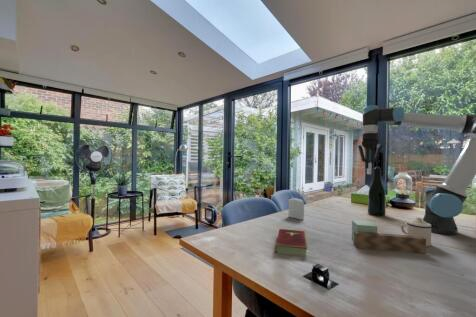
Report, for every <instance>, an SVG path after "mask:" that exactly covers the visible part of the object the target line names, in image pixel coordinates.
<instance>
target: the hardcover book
mask: <svg viewBox="0 0 476 317" xmlns="http://www.w3.org/2000/svg"><path fill="white" fill-rule="evenodd" d="M277 233H278V234H277V240H276V244H275V248H274V249H275V250H274V251H275V254H283V255H290V256H291V255H292V256H299V257H307V249H308V244H307V239H306V231H305V230H299V229H297V230H296V229H288V228H287V229H286V228H279V229H278V232H277Z"/></svg>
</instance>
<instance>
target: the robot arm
mask: <svg viewBox="0 0 476 317" xmlns="http://www.w3.org/2000/svg"><path fill="white" fill-rule="evenodd" d="M378 123H384V124H385V125H387V126H391V127H392V126H403V127H411V128H422V129H431V130H433V129H434V130H442V131H451V132H452V131H454V132H458V133H459V134H463V135H467V136H468V138H469V139H468V140H467V141H466V144H465V146H464V147H463V148H462V150H461V152H460V154H459V156H458V157H457V159H456V161H455V162H454V163H453V166H452V167H451V169H450V171H449V172H448V175H447V176H446V178H445V179H444V181H443V182H442V183H440V184H437V185H436V187H432V186H431V187H430V186H429V187H426V188H425V192H424V194H425V196H424V197H425V198H424V199H425V203H424V206H425V207H424V211H425V212H424V215H423V218H422V220H423V221H425V222H426V223H429V224H431V225H432V228H431V233H436V234H442V235H449V236H451V235H452V236H453V235H458V233H459V228H458V226H457V224H456V221H455V219H454V217H457V216H459V215H460V214H461V213H462V211H463V209H464V202H466V200H467V198H468V194H467V190H468V188H469V187H470V184H471V183H472V181H473V180H474V179H475V177H476V114H463V115H461V116H459V115H458V116H457V115H446V114H445V115H443V114H428V113H416V112H415V113H412V112H405V108H404V107H402V106H401V107H400V106H398V107H397V106H394V107H387V108H379V106H378V105H376V104H375V105H373V104H372V105H371V104H370V105H367V106H364V107H363V110H362V133H363V134H362V138H361V139H362V140H361V142H360V144H358V145H357V146H356V147H357V148H358V152H359V155H360V159H361V162H363V163H364V166H365V169H366V174H367V175H372V169H374V164H375V163H377V162H378V160H379V157H380V152H381V150H382V148H383V147H384V146H383V144H382V145H381V144H379V142H378V136H379V135H378V128H379V126H378ZM363 148H364V149H363ZM375 149H376V150H375ZM364 151H365V153H364Z"/></svg>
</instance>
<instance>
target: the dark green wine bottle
mask: <svg viewBox="0 0 476 317" xmlns="http://www.w3.org/2000/svg"><path fill="white" fill-rule="evenodd" d="M386 196H387V195H386V189H385V187H384V183H383V182H382V169H381V167H380V166H375V167H374V168H373V178H372V182H371V185H370V187H369V188H368V198H367V199H368V200H367V214H369V216H370V215H371V216H374V217H375V216H376V217H384V216H386V213H387V212H386V206H387V204H386Z"/></svg>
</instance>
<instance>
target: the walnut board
mask: <svg viewBox="0 0 476 317" xmlns="http://www.w3.org/2000/svg"><path fill="white" fill-rule="evenodd" d="M353 245H354V247H355V248H360V249H370V250H371V249H372V250H381V251H390V252H404V253H412V254H413V253H414V254H415V253H416V254H422V255H423V254H425V255H426V253H427V249H426V239H425V238H424V237H422V236H410V235H406V234H397V233H396V234H394V233H384V232H383V233H382V232H377V233H371V232H359V231H354V241H353Z"/></svg>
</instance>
